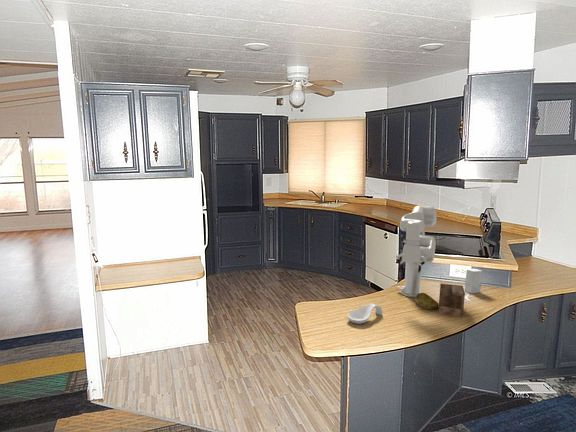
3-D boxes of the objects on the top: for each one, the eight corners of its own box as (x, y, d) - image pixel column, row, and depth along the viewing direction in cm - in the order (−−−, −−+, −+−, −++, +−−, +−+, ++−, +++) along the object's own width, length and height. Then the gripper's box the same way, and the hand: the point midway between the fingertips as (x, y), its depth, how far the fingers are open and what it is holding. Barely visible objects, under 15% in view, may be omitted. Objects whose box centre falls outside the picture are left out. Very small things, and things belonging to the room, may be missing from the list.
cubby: (439, 313, 237) (441, 290, 235) (438, 305, 251) (440, 283, 248) (462, 316, 233) (464, 293, 231) (460, 307, 247) (462, 285, 245)
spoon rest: (359, 328, 216) (359, 315, 215) (342, 321, 225) (342, 308, 223) (387, 317, 231) (388, 305, 230) (370, 311, 240) (371, 299, 239)
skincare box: (471, 293, 271) (473, 271, 269) (464, 290, 277) (466, 269, 275) (480, 292, 275) (483, 270, 272) (473, 289, 280) (475, 268, 278)
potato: (430, 312, 238) (431, 299, 237) (413, 305, 249) (414, 292, 248) (440, 310, 242) (441, 297, 241) (423, 302, 253) (424, 290, 252)
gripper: (396, 242, 242) (394, 271, 245) (428, 245, 237) (425, 274, 240) (397, 240, 249) (395, 268, 252) (427, 242, 244) (425, 271, 247)
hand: (410, 271), depth 246 cm, fingers open, 9 cm apart
